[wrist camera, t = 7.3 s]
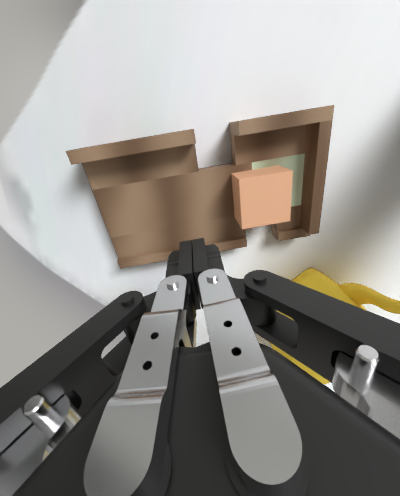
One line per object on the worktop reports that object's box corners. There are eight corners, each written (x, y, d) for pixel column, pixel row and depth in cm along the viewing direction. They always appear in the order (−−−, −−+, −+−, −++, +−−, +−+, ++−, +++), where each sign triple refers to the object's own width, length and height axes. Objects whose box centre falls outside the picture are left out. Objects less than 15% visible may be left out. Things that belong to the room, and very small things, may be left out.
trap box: (310, 108, 20) (334, 105, 17) (301, 228, 26) (317, 241, 23) (83, 147, 20) (65, 151, 17) (124, 258, 26) (117, 276, 23)
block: (278, 165, 21) (292, 170, 18) (277, 210, 23) (290, 221, 20) (231, 173, 21) (239, 179, 18) (234, 217, 23) (242, 229, 20)
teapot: (254, 345, 35) (278, 413, 27) (249, 274, 28) (279, 335, 20) (344, 329, 35) (396, 392, 27) (360, 253, 28) (438, 306, 20)
